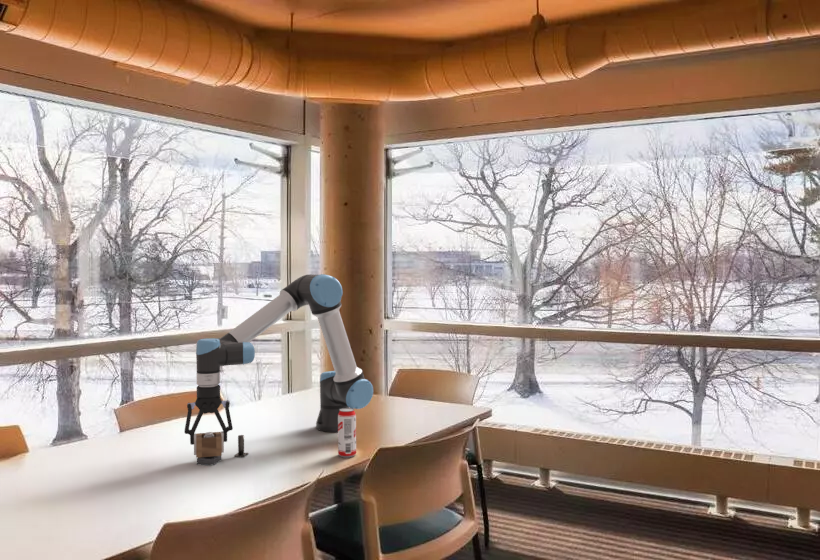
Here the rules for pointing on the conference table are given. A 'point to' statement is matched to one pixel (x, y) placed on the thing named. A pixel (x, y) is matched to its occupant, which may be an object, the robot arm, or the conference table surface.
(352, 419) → the beer can
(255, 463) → the conference table surface
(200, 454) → the brown box
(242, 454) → the stand
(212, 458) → the hub
